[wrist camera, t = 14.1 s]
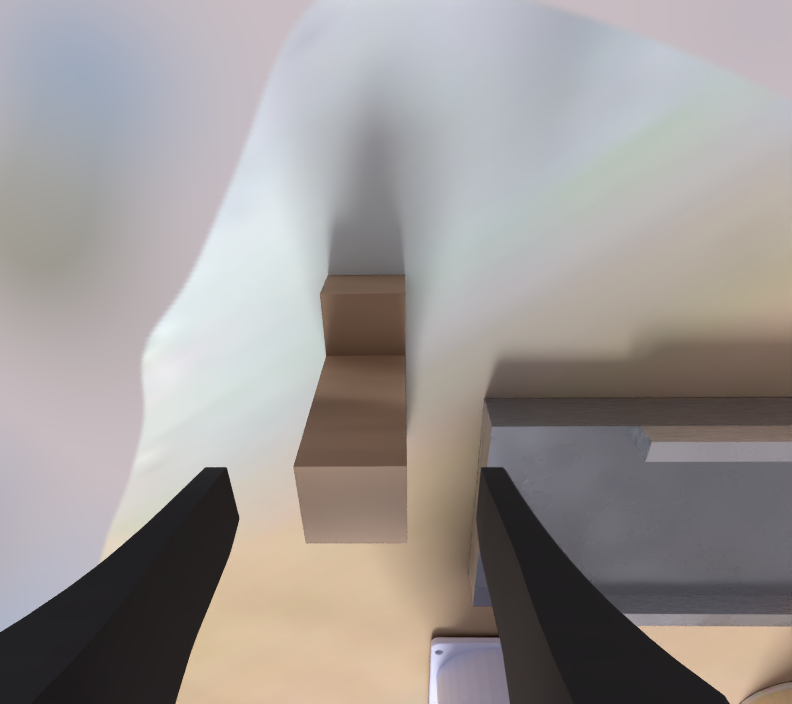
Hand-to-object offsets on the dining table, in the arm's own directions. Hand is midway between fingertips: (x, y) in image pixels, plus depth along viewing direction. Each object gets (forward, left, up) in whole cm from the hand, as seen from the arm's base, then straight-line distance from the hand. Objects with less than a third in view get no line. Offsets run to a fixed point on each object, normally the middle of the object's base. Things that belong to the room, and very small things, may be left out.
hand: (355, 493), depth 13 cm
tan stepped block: (0, 0, -8) cm, 8 cm away
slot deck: (-8, -15, -8) cm, 19 cm away
